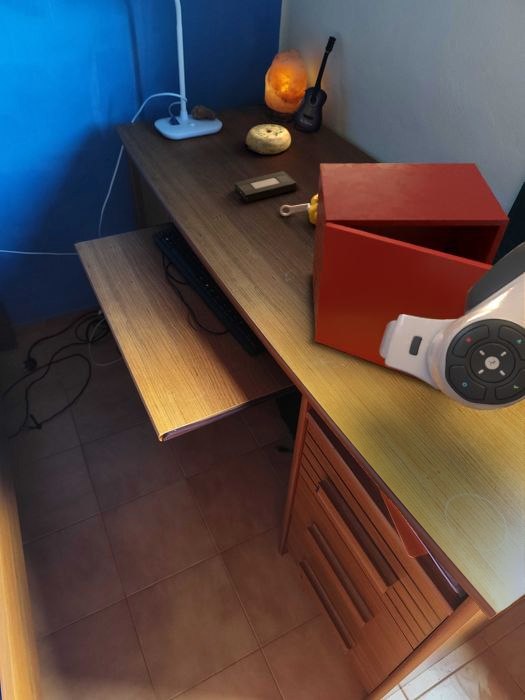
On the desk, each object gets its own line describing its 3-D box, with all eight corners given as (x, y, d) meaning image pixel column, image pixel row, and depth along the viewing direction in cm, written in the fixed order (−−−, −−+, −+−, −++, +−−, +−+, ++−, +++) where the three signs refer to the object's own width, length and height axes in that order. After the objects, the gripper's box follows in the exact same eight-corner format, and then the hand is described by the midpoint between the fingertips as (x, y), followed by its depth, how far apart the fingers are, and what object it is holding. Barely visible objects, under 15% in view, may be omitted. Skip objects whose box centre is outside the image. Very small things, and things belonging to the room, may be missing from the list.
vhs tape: (235, 189, 123) (234, 182, 122) (283, 178, 127) (283, 170, 126) (246, 202, 118) (246, 195, 117) (296, 189, 122) (296, 182, 121)
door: (453, 423, 71) (510, 305, 54) (300, 363, 80) (306, 246, 63) (464, 391, 75) (519, 272, 58) (317, 337, 84) (327, 221, 67)
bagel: (294, 154, 137) (294, 137, 134) (249, 158, 136) (248, 140, 132) (286, 136, 146) (286, 119, 143) (244, 139, 145) (243, 122, 142)
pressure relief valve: (329, 207, 115) (332, 229, 108) (281, 214, 117) (282, 237, 110) (327, 186, 111) (330, 208, 104) (278, 194, 113) (278, 217, 106)
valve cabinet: (461, 338, 83) (509, 219, 66) (315, 337, 84) (325, 219, 67) (438, 277, 96) (474, 162, 78) (312, 276, 97) (320, 163, 79)
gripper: (581, 359, 48) (544, 358, 62) (386, 309, 54) (391, 318, 68) (562, 417, 49) (529, 403, 62) (371, 361, 55) (378, 360, 68)
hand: (456, 358), depth 65 cm, fingers closed on door, 2 cm apart
